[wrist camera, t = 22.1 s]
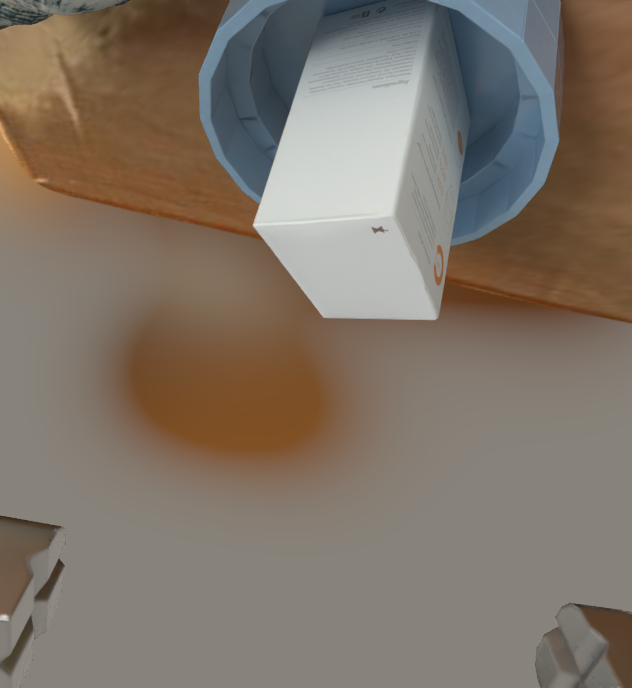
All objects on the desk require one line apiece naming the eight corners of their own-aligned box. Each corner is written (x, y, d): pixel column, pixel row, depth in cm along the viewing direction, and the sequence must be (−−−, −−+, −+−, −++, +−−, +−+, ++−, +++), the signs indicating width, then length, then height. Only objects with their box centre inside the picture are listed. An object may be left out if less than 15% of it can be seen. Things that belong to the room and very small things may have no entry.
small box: (318, 14, 28) (246, 224, 23) (444, -19, 25) (396, 212, 20) (367, 136, 34) (321, 321, 29) (472, 121, 31) (442, 322, 26)
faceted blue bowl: (651, -49, 23) (653, 60, 20) (471, 201, 39) (460, 280, 36) (245, -193, 22) (193, -96, 19) (231, 127, 37) (201, 203, 35)
